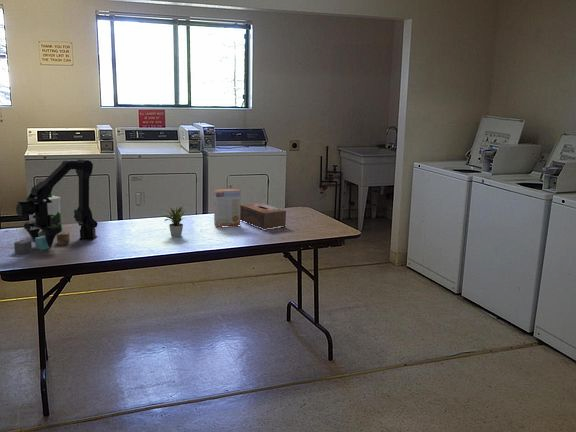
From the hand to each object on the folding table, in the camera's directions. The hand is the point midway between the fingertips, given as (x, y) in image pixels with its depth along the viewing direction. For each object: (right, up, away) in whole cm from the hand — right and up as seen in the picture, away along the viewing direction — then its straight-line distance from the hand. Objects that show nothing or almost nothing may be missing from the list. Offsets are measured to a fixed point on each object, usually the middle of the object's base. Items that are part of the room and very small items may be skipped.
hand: (43, 245), depth 257 cm
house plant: (+56, +3, +29) cm, 63 cm away
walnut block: (+6, +1, +9) cm, 11 cm away
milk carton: (-9, +6, +30) cm, 31 cm away
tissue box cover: (+100, +9, +60) cm, 117 cm away
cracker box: (+80, +8, +53) cm, 97 cm away
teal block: (0, -1, 0) cm, 1 cm away
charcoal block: (-6, -3, -8) cm, 10 cm away
